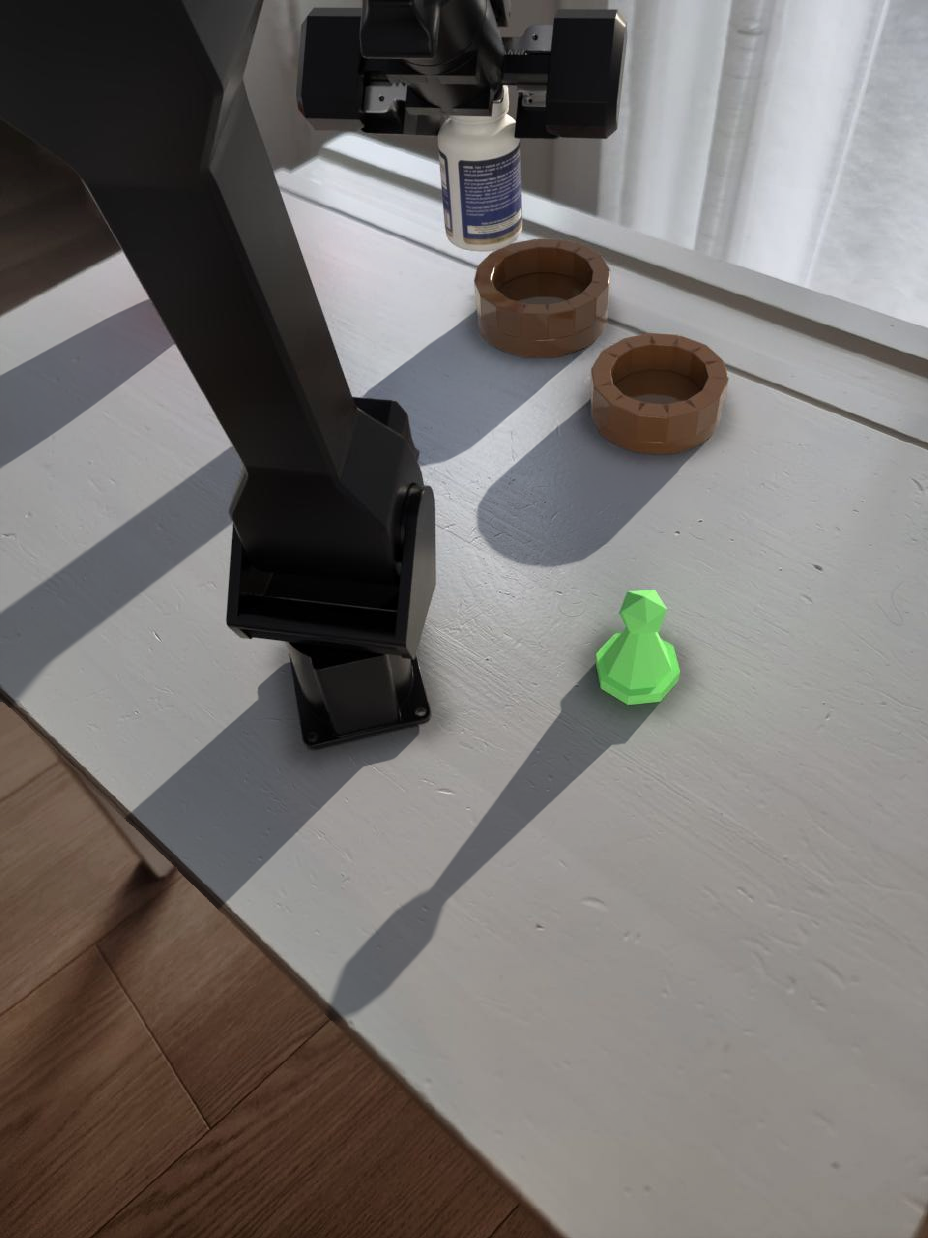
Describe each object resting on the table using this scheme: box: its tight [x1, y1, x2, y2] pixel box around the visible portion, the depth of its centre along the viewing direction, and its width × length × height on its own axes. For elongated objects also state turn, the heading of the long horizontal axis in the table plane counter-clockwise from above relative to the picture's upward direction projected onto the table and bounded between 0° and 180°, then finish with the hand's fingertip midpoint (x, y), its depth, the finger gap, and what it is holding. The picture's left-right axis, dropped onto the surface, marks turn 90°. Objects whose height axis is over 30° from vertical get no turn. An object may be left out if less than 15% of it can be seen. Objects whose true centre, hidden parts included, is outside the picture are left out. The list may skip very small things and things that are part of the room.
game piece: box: [595, 589, 681, 706], centre depth 49 cm, size 4×4×6 cm
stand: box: [473, 238, 611, 359], centre depth 69 cm, size 9×9×4 cm
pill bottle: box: [437, 85, 523, 253], centre depth 66 cm, size 5×5×10 cm
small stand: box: [589, 332, 730, 455], centre depth 63 cm, size 8×8×3 cm
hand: (483, 129), depth 66 cm, fingers closed on pill bottle, 5 cm apart
